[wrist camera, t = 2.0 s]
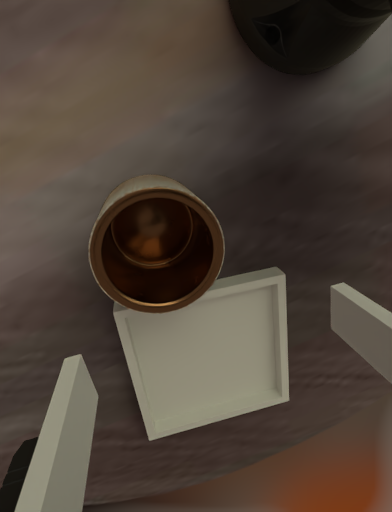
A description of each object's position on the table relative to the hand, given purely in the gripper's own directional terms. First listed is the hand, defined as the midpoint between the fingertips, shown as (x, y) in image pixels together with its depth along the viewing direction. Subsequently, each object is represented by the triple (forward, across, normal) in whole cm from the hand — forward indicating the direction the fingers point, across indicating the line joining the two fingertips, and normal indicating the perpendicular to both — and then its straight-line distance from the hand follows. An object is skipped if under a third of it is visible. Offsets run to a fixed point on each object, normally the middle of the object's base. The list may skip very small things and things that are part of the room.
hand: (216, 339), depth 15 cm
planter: (+19, -2, +2) cm, 19 cm away
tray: (+19, +2, -16) cm, 25 cm away
